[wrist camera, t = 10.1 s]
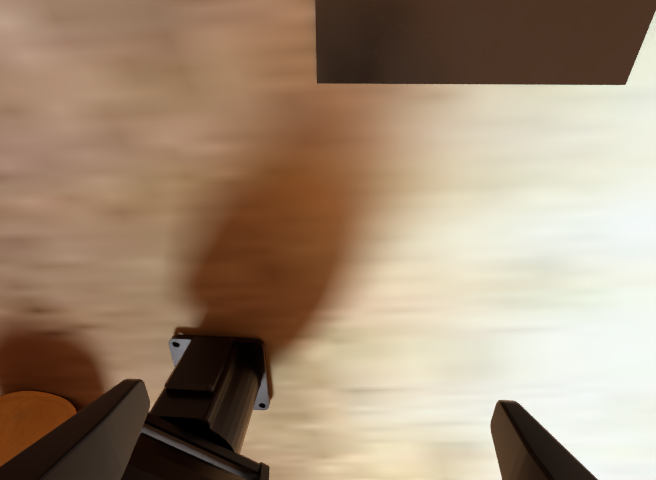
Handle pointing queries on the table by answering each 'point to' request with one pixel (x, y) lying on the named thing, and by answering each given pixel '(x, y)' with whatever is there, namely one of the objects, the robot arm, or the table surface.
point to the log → (29, 419)
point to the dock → (480, 41)
